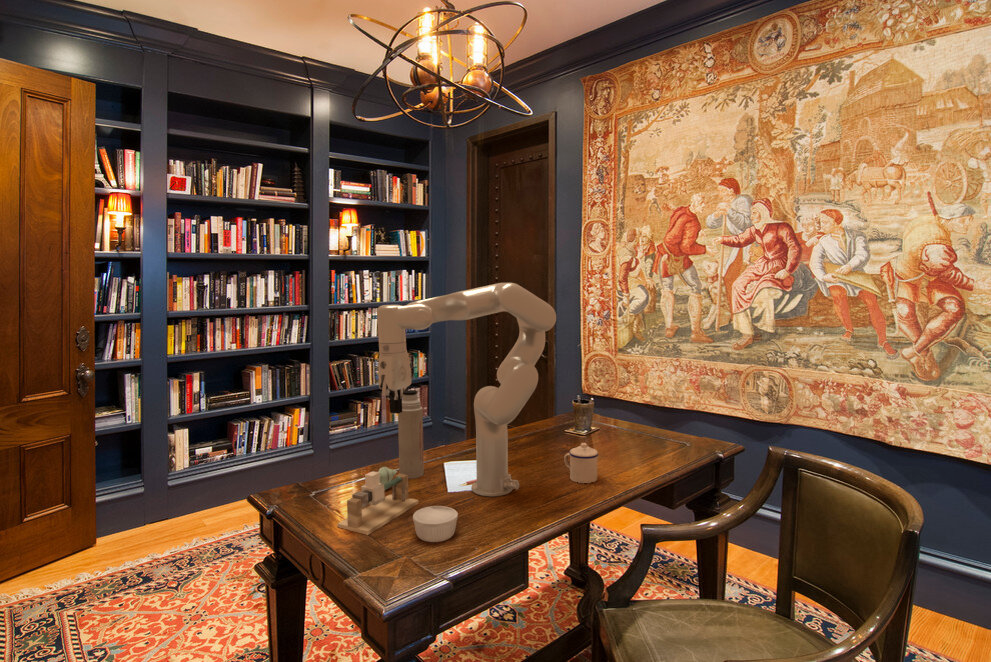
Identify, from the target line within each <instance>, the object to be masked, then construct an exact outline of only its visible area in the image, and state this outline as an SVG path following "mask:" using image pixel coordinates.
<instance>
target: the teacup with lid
mask: <svg viewBox="0 0 991 662" xmlns="http://www.w3.org/2000/svg"><path fill="white" fill-rule="evenodd" d="M598 456H599V453H598V450H597V449H595V448H592V447H590V446H588V444H587V443H586V442H581V444H580V445H579V446H576V447H574V448H573V447H572V448H571V449H570V450H569V452H568V453H565V455H564V457H563V459H564V464H565V466H566V467H567V468H568V469H569V478H570V480H571V481H572V482H574V483H577V482H578V484H584V483H587V484H592V483H591V482H593V483H595V482H596V481H598ZM568 457H569V459H568Z"/></svg>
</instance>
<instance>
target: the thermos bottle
mask: <svg viewBox="0 0 991 662" xmlns="http://www.w3.org/2000/svg"><path fill="white" fill-rule="evenodd" d="M423 414H424V411H423V407H422V406H421V400H420V399H418V391H417V390H413V389H405V390H404V392H403V398H402V412H401V413H399V414H397V423H398V424H397V429H398V430H397V431H398V434H397V435H398V468H399V469H398V471H399V472H398V474H404V475H408V480H410V479H411V480H412V479H417V478H420V477H422V476H423V475H424V473H425V471H424V422H423V421H424V419H423Z"/></svg>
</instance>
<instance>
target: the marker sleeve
mask: <svg viewBox="0 0 991 662" xmlns="http://www.w3.org/2000/svg"><path fill="white" fill-rule="evenodd" d="M364 479H365V480H364V483H365V484H363V485H361V486H360V492H363V491H365V490H368V491H369V492H372V500H371V501H370V502H369V503H368V505H369V506H370V505H377V504H379V503H380V502H382V501H384V500H385V497H386V496H385V491H384V484H381V483H380V473H379V472H378V471H370V472H368V473H365V474H364Z"/></svg>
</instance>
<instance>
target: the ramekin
mask: <svg viewBox="0 0 991 662" xmlns="http://www.w3.org/2000/svg"><path fill="white" fill-rule="evenodd" d="M458 517H459V513H458V511H457V510H455V509H454V508H452V507H450V506H449V507H448V506H444V505H431V506H425V507H422V508H420V509H417V510H415V512H414V513H413V515H412V521H413V523H414V524H413V525H414V529H415V533H416V537H418V538H419V539H420V540H422V541H424V542H427V543H439V542H441V543H442V542H444V541H446V540H447V541H448V540H449V539H451V538H452V537H453V536H454V535H455V532H456V527H457V521H458Z"/></svg>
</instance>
